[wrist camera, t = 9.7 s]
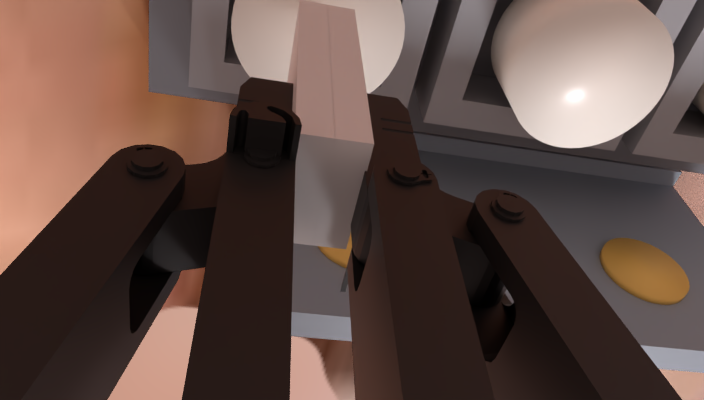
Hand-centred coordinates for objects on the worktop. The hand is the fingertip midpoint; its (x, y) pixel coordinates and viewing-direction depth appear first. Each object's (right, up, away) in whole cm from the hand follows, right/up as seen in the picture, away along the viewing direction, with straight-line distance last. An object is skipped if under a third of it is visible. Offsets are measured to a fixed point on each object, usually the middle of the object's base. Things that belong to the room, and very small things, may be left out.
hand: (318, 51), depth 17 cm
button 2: (+9, +2, +5) cm, 10 cm away
